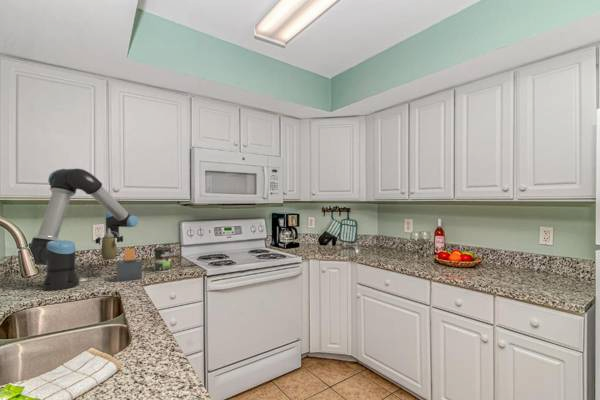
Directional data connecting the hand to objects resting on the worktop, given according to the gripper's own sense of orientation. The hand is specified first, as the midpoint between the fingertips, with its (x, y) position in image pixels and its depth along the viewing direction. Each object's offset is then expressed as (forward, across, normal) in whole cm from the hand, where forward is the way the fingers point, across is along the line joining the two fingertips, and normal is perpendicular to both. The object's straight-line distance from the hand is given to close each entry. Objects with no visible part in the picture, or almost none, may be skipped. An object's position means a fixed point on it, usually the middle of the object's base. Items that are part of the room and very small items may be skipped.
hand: (108, 242), depth 173 cm
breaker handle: (+9, -11, -10) cm, 17 cm away
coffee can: (-6, -29, -21) cm, 36 cm away
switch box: (+7, -11, -21) cm, 24 cm away
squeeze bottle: (-5, 0, -11) cm, 12 cm away
